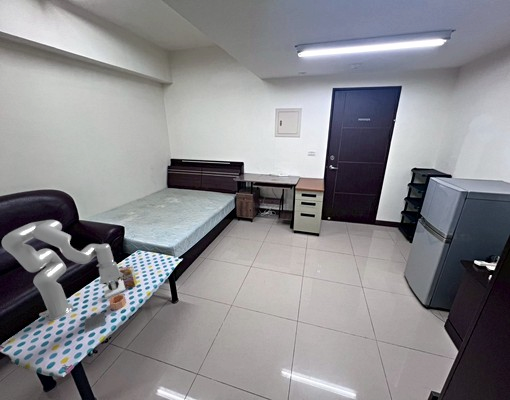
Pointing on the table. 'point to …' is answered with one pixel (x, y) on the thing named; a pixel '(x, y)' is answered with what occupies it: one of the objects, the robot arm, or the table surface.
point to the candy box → (128, 276)
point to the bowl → (117, 301)
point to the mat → (94, 322)
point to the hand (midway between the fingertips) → (114, 287)
